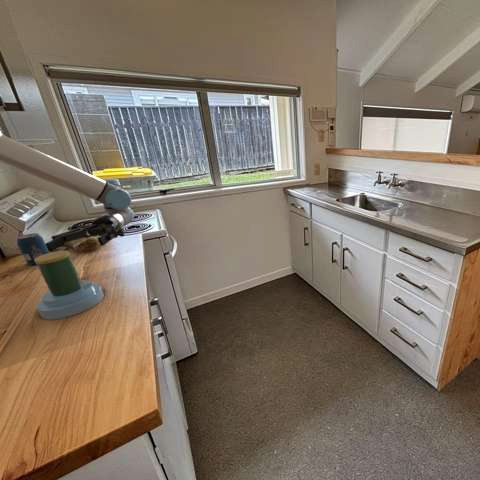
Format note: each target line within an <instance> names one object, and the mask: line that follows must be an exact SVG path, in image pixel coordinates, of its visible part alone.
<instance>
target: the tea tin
mask: <svg viewBox="0 0 480 480" xmlns="http://www.w3.org/2000/svg"><path fill="white" fill-rule="evenodd" d="M70 255H71V254H70V252H69V251H68V250H57V251H52V252H49V253H47V254H44V255H41V256H39V257H37V258H35V259H34V261H35V263H37V265H36V266H37V268H38V270H39V272H40V273H41V275H42V277H43V280H44V282H45V284H46V286H47V288H48V291H49V290H50V292H51V294H52V295H53V296H63V295H67V294H70V293H73V292H75V291H77V290H79V289H80V288H81V287H82V283H81V281H80V280H81V279H80V276H79V274H78V271H77V269H76V267H75V265H74V262H73V259H72V258H71V256H70Z"/></svg>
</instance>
